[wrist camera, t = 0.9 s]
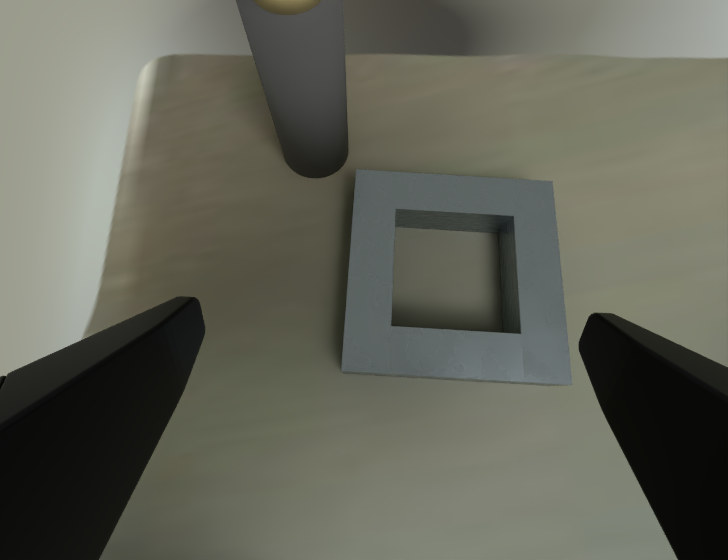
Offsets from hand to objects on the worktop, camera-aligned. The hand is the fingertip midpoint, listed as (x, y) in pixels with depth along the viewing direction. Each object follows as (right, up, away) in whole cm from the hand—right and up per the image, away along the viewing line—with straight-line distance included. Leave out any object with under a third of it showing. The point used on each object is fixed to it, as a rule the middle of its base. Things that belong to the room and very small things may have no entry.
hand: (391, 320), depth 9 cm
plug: (-4, +10, +17) cm, 21 cm away
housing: (+4, +1, +15) cm, 16 cm away
